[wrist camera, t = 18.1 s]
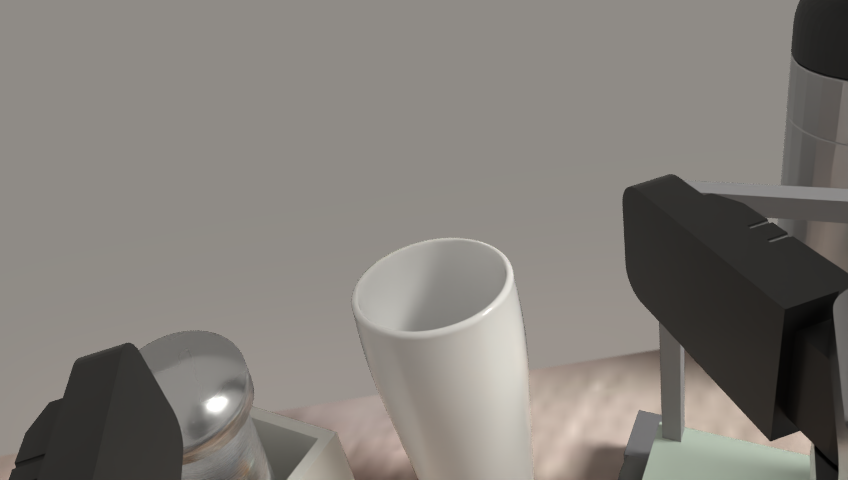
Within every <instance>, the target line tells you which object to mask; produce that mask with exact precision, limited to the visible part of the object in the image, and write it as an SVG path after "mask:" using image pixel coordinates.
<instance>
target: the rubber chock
mask: <svg viewBox="0 0 848 480" xmlns="http://www.w3.org/2000/svg"><path fill="white" fill-rule="evenodd" d="M660 422H662V415H659V414H654V413H650V412H645V411H641V410H639V412H638V415H637V417H636V420H635V423H634V426H633V429H632V432H631V435H630V438H629V441H628V444H627V447H626V450H625V452H624V461H625V459H626V458H627V457H628V456H633V457H637V458H641V459H645V460H648V459H649V455H650V452H651V449H652V446H653V442H654V439H655V436H656V432H657V429H658V426H659V423H660Z"/></svg>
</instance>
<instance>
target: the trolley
mask: <svg viewBox="0 0 848 480" xmlns="http://www.w3.org/2000/svg"><path fill="white" fill-rule="evenodd" d="M683 181H685V182H686V183H687V184H689V185H690V186H692V187H693V188H695V189H696V190H697V191H699V192H700V193H702V194H703V195H706V194H709V193H713V194H716V195H720V196H723V197H726V198H729V199H732V200H735V201H739V202H742V203H744V204H746V205H747V206H749V207H750V208H752V209H753V210H755V211H756V212H758V213H759V214H761V215H762V216H764V217H766V218H779V219H793V220H806V221H820V222H833V223H846V224H848V189H839V188H820V187H801V186H782V185H763V184H744V183H743V184H742V183H725V182H706V181H686V180H683ZM659 328H660V329H659V330H660V370H661V408H662V422H660V423H659V426H658V429H657V432H656V436H655V439H654V442H653V446H652V449H651V452H650V455H649V459H648V460H645V459H641V458H637V457H633V456H628V457H627V458H626V459H625V461H624V463H623V466H622V468H621V471H620V474H619V478H618V480H811V477H810V456H808V455H804V454H800V453H795V452H791V451H786V450H782V449H778V448H773V447H769V446H765V445H760V444H756V443H751V442H747V441H743V440H738V439H734V438H730V437H725V436H721V435H716V434H712V433H708V432H703V431H699V430H695V429H690V428H686V427H684V348H683V347H682V346H681V345H680V343H679V342H678V341H677V340H676V339H675V338H674V337H673V336H672V335H671V334H670V333H669V332H668V331H667V329H666V328H665V327H664V326H663V325H662V324H661V323H660V322H659Z"/></svg>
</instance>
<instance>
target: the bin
mask: <svg viewBox="0 0 848 480" xmlns="http://www.w3.org/2000/svg"><path fill="white" fill-rule="evenodd" d="M250 416H251V418H252V421H253V423H254V426H255V428H256V431H257V433H258V436H259V438H260V441H261V443H262V446H263V448H264V451H265V453H266V456H267V458H268V461H269V463H270V466H271V468H272V471H273V473H274V476H275V478H276V480H355V479H354V476H353V474H352V471H351V468H350V466H349V463H348V461H347V458H346V456H345V453H344V450H343V448H342V445H341V443H340V440H339V437H338V435H337V432H334V431H331V430H328V429H324V428H321V427H318V426H315V425H311V424H308V423H305V422H302V421H298V420H295V419H292V418H289V417H285V416H282V415H279V414H276V413H273V412H269V411H266V410H263V409H259V408H256V407H253V406H252V408H251V411H250Z"/></svg>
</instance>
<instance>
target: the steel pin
mask: <svg viewBox="0 0 848 480" xmlns="http://www.w3.org/2000/svg"><path fill="white" fill-rule="evenodd" d="M139 352H140V353H141V355H142V357H143V358H144V360H145V362H146V363H147V365H148V367H149V369H150V370H151V372H152V374H153V376H154V377H155V379H156V381H157V383H158V384H159V386H160V388H161V390H162V391H163V393H164V395H165V397H166V398H167V400H168V402H169V403H170V405H171V407H172V409H173V410H174V412H175V414H176V417H177V419H178V422H179V425H180V429H181V433H182V438H183V449H184V450H183V464H182V476H181V480H276V478H275V476H274V473H273V471H272V468H271V466H270V463H269V461H268V458H267V456H266V453H265V451H264V448H263V446H262V443H261V441H260V438H259V436H258V433H257V431H256V428H255V426H254V423H253V421H252V418H251V416H250V411H251V408H252V404H253V399H254V388H253V383H252V379H251V376H250V374H249V371H248V368H247V365H246V363H245V360H244V358H243V356H242V353H241V352H240V350H239V349H238V348H237V347H236V346H235V345H234V344H233V343H232V342H231V341H229V340H228V339H227V338H225V337H223V336H221V335H218V334H215V333H212V332H207V331H183V332H178V333H173V334H170V335H167V336H164V337H162V338H159V339H157V340H155V341H153V342H151V343H149V344H147V345H146V346H144V347H143V348H141V349H140V350H139Z"/></svg>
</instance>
